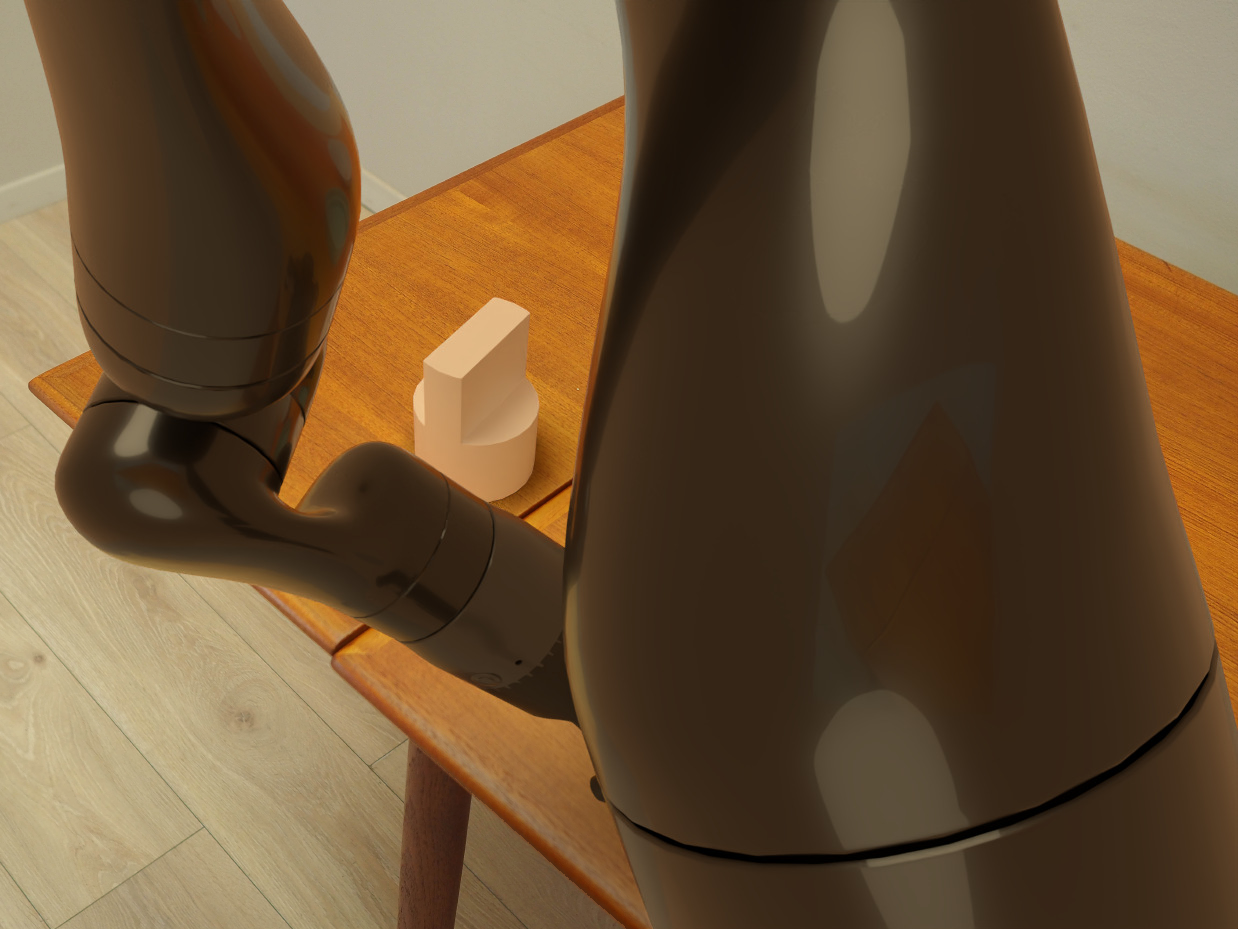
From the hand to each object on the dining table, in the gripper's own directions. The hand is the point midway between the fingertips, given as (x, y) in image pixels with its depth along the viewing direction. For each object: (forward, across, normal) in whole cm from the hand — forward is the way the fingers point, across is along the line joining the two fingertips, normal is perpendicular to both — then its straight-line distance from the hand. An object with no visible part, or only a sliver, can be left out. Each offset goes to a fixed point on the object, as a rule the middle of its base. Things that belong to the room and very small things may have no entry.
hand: (711, 727), depth 58 cm
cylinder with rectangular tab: (-4, +27, +13) cm, 31 cm away
